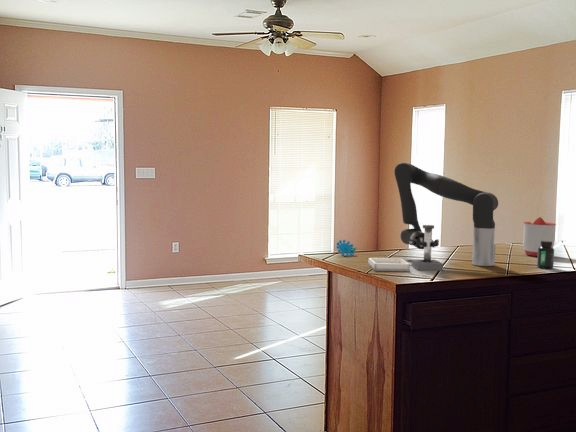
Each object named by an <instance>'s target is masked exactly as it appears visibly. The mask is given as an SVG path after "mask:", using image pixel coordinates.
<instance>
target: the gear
mask: <svg viewBox="0 0 576 432" xmlns="http://www.w3.org/2000/svg"><path fill="white" fill-rule="evenodd" d="M350 243H351V242H350V241H349V240H348V241H346V239H343V240H342V239H341V240H339V241H338V242H336V247H335V249H337V252H338V253H340V254H341V256H344V255H345V257H352V256H354V255H355V254H356V251H357V250H358V247H354V244H353V243H351V244H350Z"/></svg>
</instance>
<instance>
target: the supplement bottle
mask: <svg viewBox="0 0 576 432" xmlns="http://www.w3.org/2000/svg"><path fill="white" fill-rule="evenodd" d="M540 245H541V247H539V248H538V256H536V258H537V262H536V263H537V264H536V266H537V268H538V267H539V269H545V270H551V269H553V268H554V265H555V264H554V262H555V260H554V259H555V249H554V247H553V248H552V242H551V241H541V244H540Z"/></svg>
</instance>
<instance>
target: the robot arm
mask: <svg viewBox="0 0 576 432" xmlns="http://www.w3.org/2000/svg"><path fill="white" fill-rule="evenodd" d="M393 172H394V177H395V181H396V184H397V189H398V193H399V198H400V205H401V213H402V222H403V224H404V225H411V226H412V228H406V229H403V230H402V231H401V232H400V240H401V242H402V243H403V244H405V245H410V246H414V247H415V248H416V249H419V250H424V247H426V242H424V233H425V232H424V231H422V229H421V226H420V223H419V221H418V219H419V218H418V213H417V212H418V210H417V205H416V202H415V198H414V195H413V192H412V187H411V184H414V185H418V186H420V187H423V188H425V189H426V190H428V191H430V192H431V193H433V194H435V195H438V196H440V197H443V198H444V199H445V198H446V199H449V200H452V201H457V202H463V203H467V204H469V205H471V206H472V222H473V237H472V238H473V239H472V259H471V264H472V265H474V266H479V267H495V265H496V248H497V247H496V244H495V235H496V234H495V231H496V222H495V220H494V211H495V210H496V209H497V208H498V207H499V199H498V198H497V196H496V195H495V194H493V193H491V192H487V191H485V190H484V191H483V190H480V189H479V190H478V189H475V188H472V187H471V186H468V185H466V184H464V183H461V182H459V181H457V180H454V179H452V178H450V177H447V176H444V175H440V174H437V173H431V172H428V171H425V170H423V169H421V168H420V167H417V166H416V165H414V164H412V163H407V162H400V163H397V164H396V165H395V168H394V171H393ZM439 242H440V240H439V239H434V240H433V239H432V247H431V248H436V247H438V246H440V245H439Z"/></svg>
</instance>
